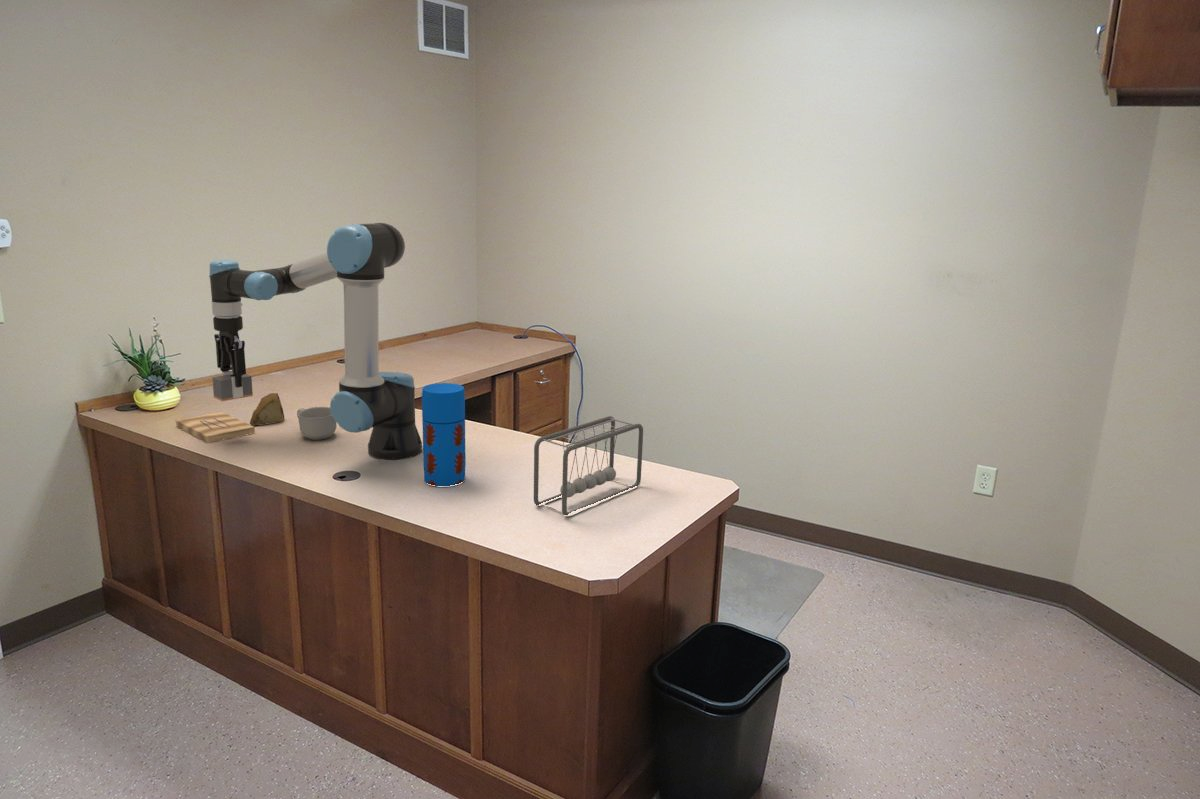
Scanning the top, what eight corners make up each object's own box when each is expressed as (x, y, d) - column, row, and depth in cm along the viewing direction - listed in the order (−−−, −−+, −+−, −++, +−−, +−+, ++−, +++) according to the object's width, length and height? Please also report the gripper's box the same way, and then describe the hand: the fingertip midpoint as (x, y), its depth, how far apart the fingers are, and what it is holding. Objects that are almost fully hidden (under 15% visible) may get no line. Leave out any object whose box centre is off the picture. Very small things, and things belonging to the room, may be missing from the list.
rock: (246, 422, 250) (280, 416, 252) (243, 396, 253) (277, 391, 255) (254, 434, 260) (287, 428, 262) (251, 409, 263) (284, 403, 265)
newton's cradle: (564, 520, 193) (565, 448, 188) (532, 507, 199) (533, 438, 195) (641, 487, 215) (644, 422, 211) (610, 477, 222) (613, 414, 217)
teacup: (344, 437, 246) (342, 411, 244) (310, 445, 239) (308, 418, 237) (320, 427, 255) (319, 402, 253) (287, 434, 248) (285, 408, 246)
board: (255, 433, 247) (254, 426, 247) (208, 443, 237) (207, 436, 237) (222, 417, 261) (221, 411, 261) (176, 426, 251) (175, 420, 251)
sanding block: (252, 396, 239) (251, 376, 237) (221, 401, 232) (220, 380, 230) (244, 392, 242) (243, 372, 240) (213, 397, 235) (212, 377, 234)
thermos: (446, 490, 208) (444, 395, 201) (415, 481, 213) (412, 388, 207) (474, 478, 217) (473, 387, 210) (443, 470, 222) (442, 380, 216)
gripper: (256, 319, 228) (261, 399, 234) (225, 309, 239) (231, 386, 245) (229, 322, 222) (235, 404, 229) (199, 312, 233) (206, 390, 240)
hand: (233, 395), depth 237 cm, fingers closed on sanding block, 5 cm apart
